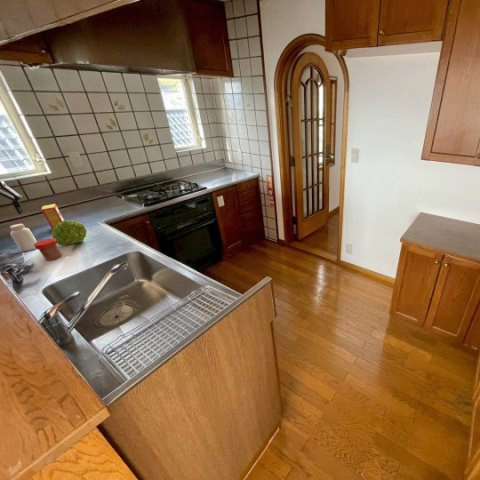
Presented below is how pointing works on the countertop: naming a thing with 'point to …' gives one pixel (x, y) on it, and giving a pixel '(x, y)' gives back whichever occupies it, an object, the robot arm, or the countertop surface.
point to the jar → (51, 253)
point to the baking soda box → (52, 214)
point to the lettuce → (69, 232)
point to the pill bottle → (23, 237)
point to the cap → (45, 243)
